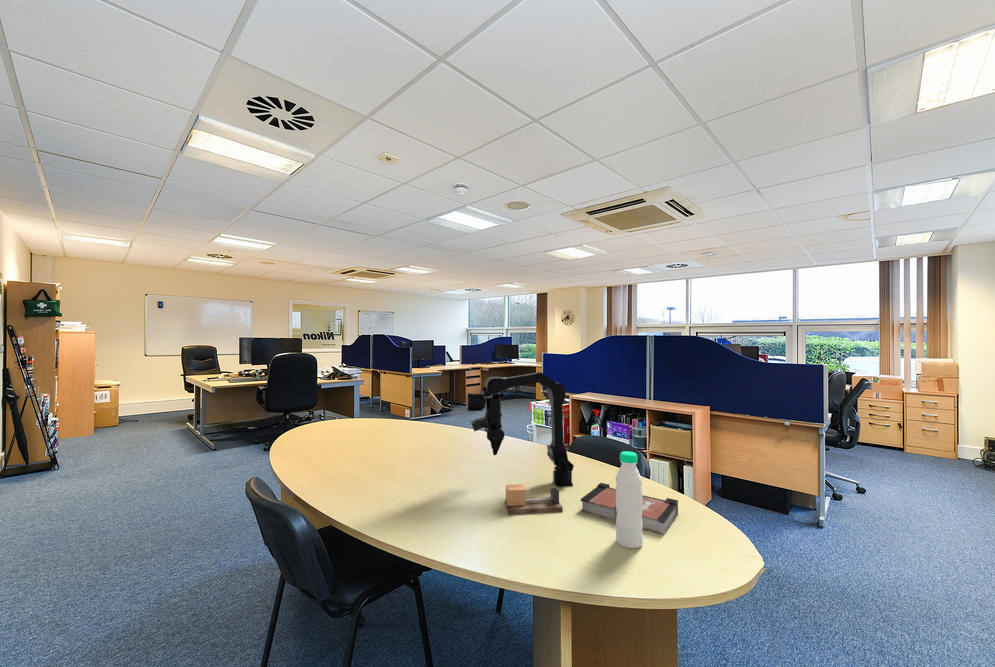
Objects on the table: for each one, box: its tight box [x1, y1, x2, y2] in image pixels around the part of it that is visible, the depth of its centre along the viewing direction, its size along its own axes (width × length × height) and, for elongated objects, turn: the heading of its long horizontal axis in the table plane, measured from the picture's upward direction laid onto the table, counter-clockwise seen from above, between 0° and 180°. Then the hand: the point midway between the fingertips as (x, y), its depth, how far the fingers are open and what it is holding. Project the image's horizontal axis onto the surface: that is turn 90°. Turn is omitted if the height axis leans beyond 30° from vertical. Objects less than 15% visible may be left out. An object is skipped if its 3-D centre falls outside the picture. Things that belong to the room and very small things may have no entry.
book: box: [580, 482, 679, 535], centre depth 128 cm, size 26×18×5 cm
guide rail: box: [525, 487, 560, 504], centre depth 133 cm, size 17×4×4 cm, turn 96°
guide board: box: [504, 496, 564, 515], centre depth 133 cm, size 18×9×2 cm, turn 96°
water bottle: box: [615, 450, 644, 549], centre depth 110 cm, size 7×7×25 cm
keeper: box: [505, 483, 527, 506], centre depth 132 cm, size 6×5×5 cm
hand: (493, 451), depth 149 cm, fingers open, 9 cm apart
